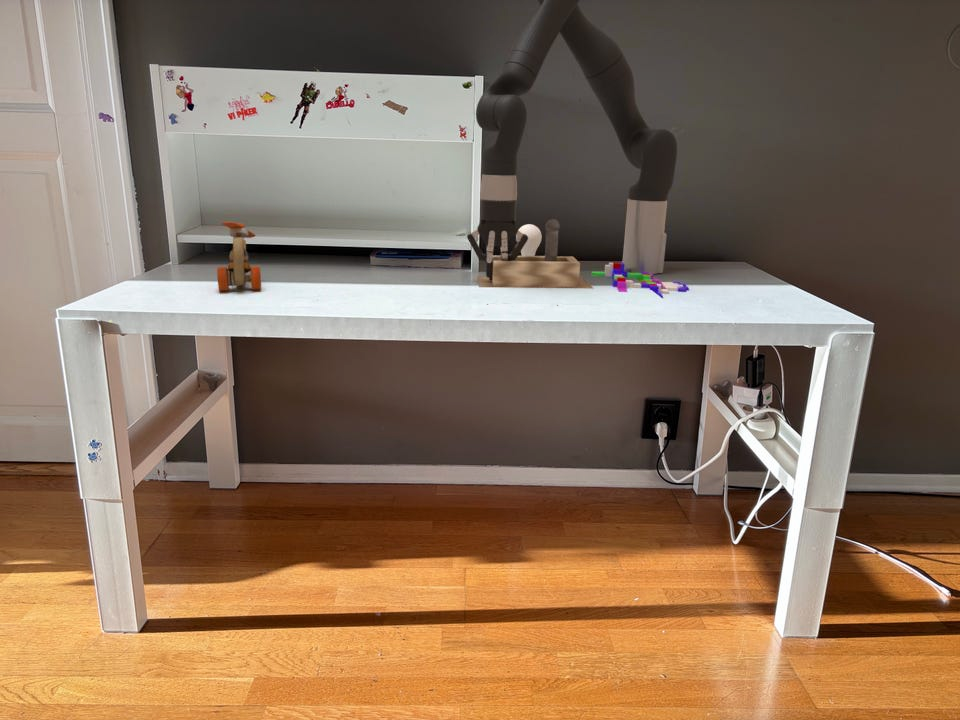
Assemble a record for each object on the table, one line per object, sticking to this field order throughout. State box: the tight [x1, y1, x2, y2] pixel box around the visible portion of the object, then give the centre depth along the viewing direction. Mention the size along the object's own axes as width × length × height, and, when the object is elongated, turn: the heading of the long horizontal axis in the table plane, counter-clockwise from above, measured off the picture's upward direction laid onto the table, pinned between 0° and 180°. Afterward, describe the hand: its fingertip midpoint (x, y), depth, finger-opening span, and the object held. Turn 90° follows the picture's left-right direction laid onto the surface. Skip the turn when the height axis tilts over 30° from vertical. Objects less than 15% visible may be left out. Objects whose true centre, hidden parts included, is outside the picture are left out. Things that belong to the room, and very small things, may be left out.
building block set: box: [590, 262, 690, 299], centre depth 155 cm, size 25×20×4 cm
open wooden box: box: [492, 254, 581, 287], centre depth 151 cm, size 18×9×5 cm, turn 93°
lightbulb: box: [515, 223, 543, 256], centre depth 169 cm, size 6×6×11 cm
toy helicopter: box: [216, 221, 262, 292], centre depth 147 cm, size 8×21×14 cm, turn 17°
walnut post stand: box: [476, 219, 595, 290], centre depth 150 cm, size 24×11×14 cm, turn 93°
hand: (496, 279), depth 151 cm, fingers closed on open wooden box
